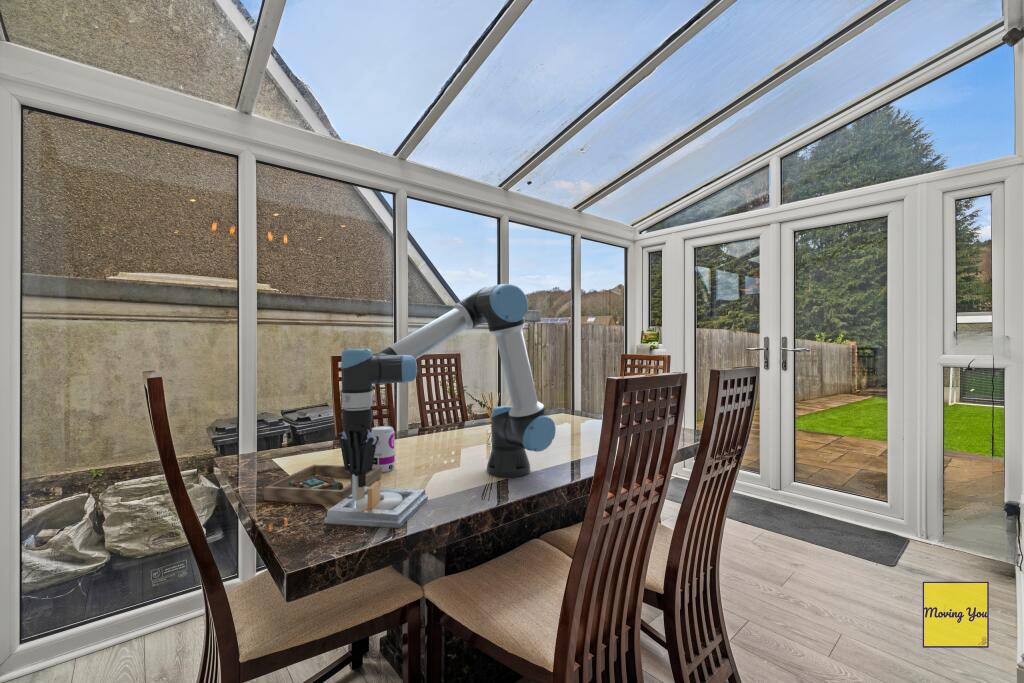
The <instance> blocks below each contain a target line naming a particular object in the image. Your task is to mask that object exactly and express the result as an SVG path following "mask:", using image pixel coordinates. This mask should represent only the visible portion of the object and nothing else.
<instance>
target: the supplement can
mask: <svg viewBox="0 0 1024 683" xmlns="http://www.w3.org/2000/svg"><path fill="white" fill-rule="evenodd" d="M371 431H372V432H371V433H372V434H373V435H374V436H378V437H379V440H378V442H377V444H376V448H375V454H374V460H373V466H372V467H382V473H388V472H392V471H393V470H394V469H395V466H396V463H395V461H396V460H395V459H396V457H395V456H396V454H395V450H396V448H395V430H394V428H393V426H388V425H384V426H383V425H381V426H375V427H371Z"/></svg>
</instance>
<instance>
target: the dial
mask: <svg viewBox="0 0 1024 683" xmlns="http://www.w3.org/2000/svg"><path fill="white" fill-rule="evenodd" d="M380 487H381V480H379V481H376V482H375V483H374V484H372V485H371V486H370V487H369V488H368V494H367V495H365V498H362V499H360V500H357V501H356V508H361V509H365V508H368V509H378V510H394V509H395V508H396V507H397V506H398V505H400V504H401V503H402V496H401V495H400V494H398V493H394V492H380Z"/></svg>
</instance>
